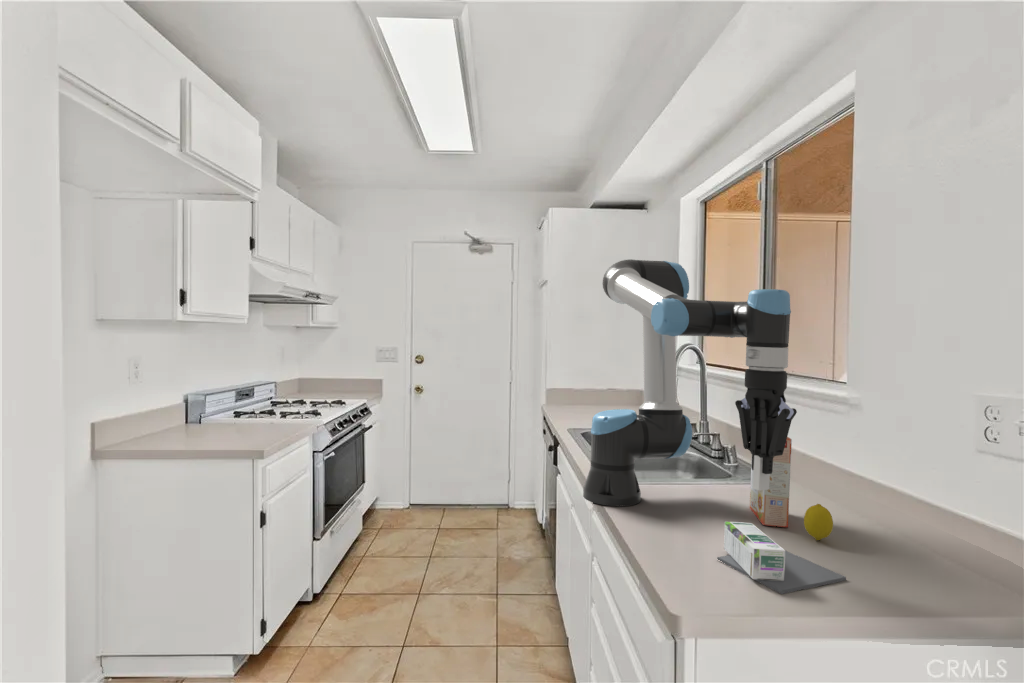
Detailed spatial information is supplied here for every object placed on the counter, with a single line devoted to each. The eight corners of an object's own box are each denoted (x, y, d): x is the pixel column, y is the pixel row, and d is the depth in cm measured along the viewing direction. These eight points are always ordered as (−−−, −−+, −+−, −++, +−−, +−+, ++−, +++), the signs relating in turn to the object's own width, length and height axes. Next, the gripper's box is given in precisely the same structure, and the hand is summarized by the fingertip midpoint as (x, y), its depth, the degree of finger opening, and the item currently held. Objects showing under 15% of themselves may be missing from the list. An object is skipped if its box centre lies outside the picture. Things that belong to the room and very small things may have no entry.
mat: (717, 560, 108) (717, 557, 108) (777, 549, 114) (777, 546, 114) (781, 594, 94) (781, 590, 94) (846, 580, 100) (846, 576, 100)
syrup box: (752, 522, 112) (786, 548, 97) (751, 551, 112) (785, 582, 97) (724, 521, 112) (753, 547, 98) (723, 550, 112) (752, 580, 98)
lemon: (802, 534, 124) (804, 498, 124) (831, 538, 121) (832, 502, 121) (803, 542, 119) (804, 505, 119) (833, 547, 116) (834, 509, 116)
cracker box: (790, 528, 127) (793, 438, 127) (762, 526, 128) (764, 436, 128) (774, 510, 141) (776, 428, 141) (748, 508, 142) (751, 427, 142)
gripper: (726, 366, 112) (721, 481, 113) (779, 371, 100) (774, 500, 101) (754, 366, 115) (749, 478, 116) (809, 371, 103) (803, 496, 104)
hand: (760, 488), depth 109 cm, fingers closed
